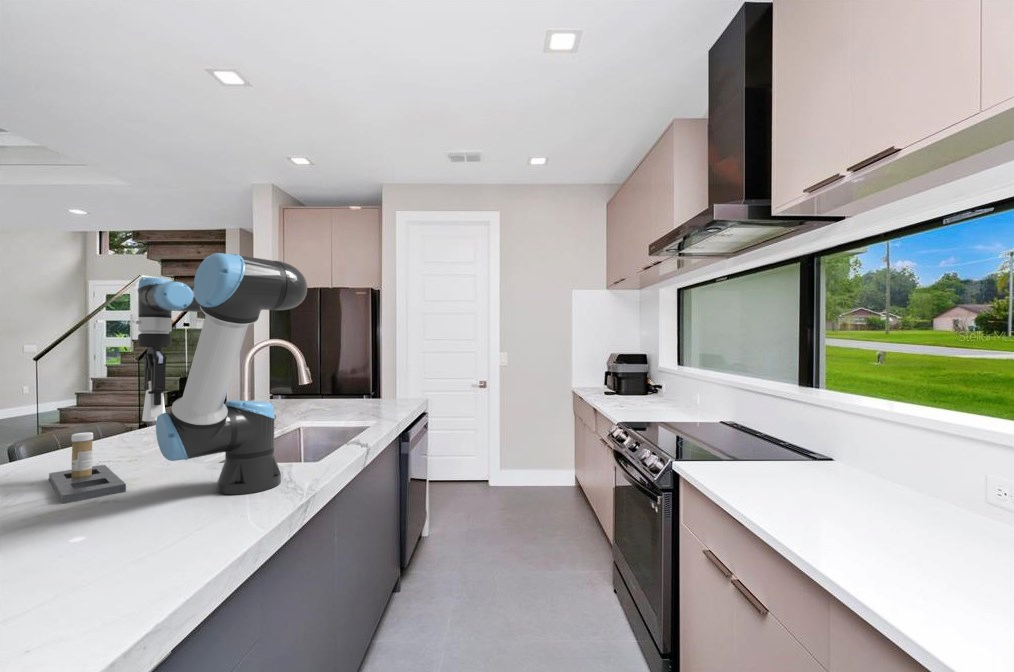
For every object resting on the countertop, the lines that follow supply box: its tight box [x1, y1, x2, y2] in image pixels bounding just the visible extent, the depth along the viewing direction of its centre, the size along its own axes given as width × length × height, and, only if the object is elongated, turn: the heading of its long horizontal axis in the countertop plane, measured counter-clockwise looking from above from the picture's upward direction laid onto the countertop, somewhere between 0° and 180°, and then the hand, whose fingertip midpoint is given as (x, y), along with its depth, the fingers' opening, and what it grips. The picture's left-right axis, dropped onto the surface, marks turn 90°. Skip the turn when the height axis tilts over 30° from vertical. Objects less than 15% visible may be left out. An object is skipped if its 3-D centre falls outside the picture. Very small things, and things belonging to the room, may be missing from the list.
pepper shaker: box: [141, 381, 167, 422], centre depth 129 cm, size 5×5×11 cm
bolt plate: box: [48, 464, 127, 505], centre depth 125 cm, size 30×12×2 cm, turn 49°
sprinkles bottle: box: [70, 431, 94, 478], centre depth 130 cm, size 5×5×14 cm
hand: (154, 415), depth 129 cm, fingers closed on pepper shaker, 4 cm apart
